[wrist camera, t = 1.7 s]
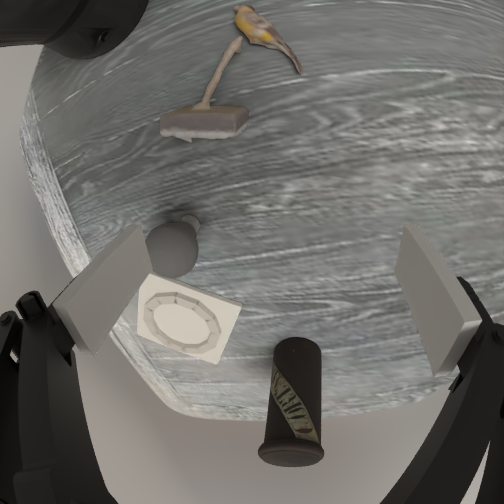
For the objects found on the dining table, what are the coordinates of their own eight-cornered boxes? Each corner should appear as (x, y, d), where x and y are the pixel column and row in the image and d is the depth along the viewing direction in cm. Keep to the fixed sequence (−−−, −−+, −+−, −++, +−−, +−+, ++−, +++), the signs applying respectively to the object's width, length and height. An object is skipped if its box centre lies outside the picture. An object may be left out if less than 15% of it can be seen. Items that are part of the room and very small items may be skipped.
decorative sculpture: (241, 6, 22) (226, -18, 15) (322, 41, 23) (330, 24, 16) (179, 124, 30) (150, 132, 23) (253, 160, 31) (241, 177, 25)
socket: (138, 331, 49) (135, 337, 48) (143, 266, 41) (137, 273, 39) (218, 361, 50) (216, 369, 48) (242, 303, 41) (240, 311, 40)
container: (310, 329, 42) (308, 450, 25) (330, 360, 46) (332, 466, 29) (262, 344, 46) (243, 456, 29) (287, 372, 49) (276, 472, 32)
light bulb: (162, 223, 36) (125, 263, 28) (186, 191, 34) (150, 227, 25) (196, 251, 38) (168, 298, 29) (223, 223, 35) (199, 267, 27)
